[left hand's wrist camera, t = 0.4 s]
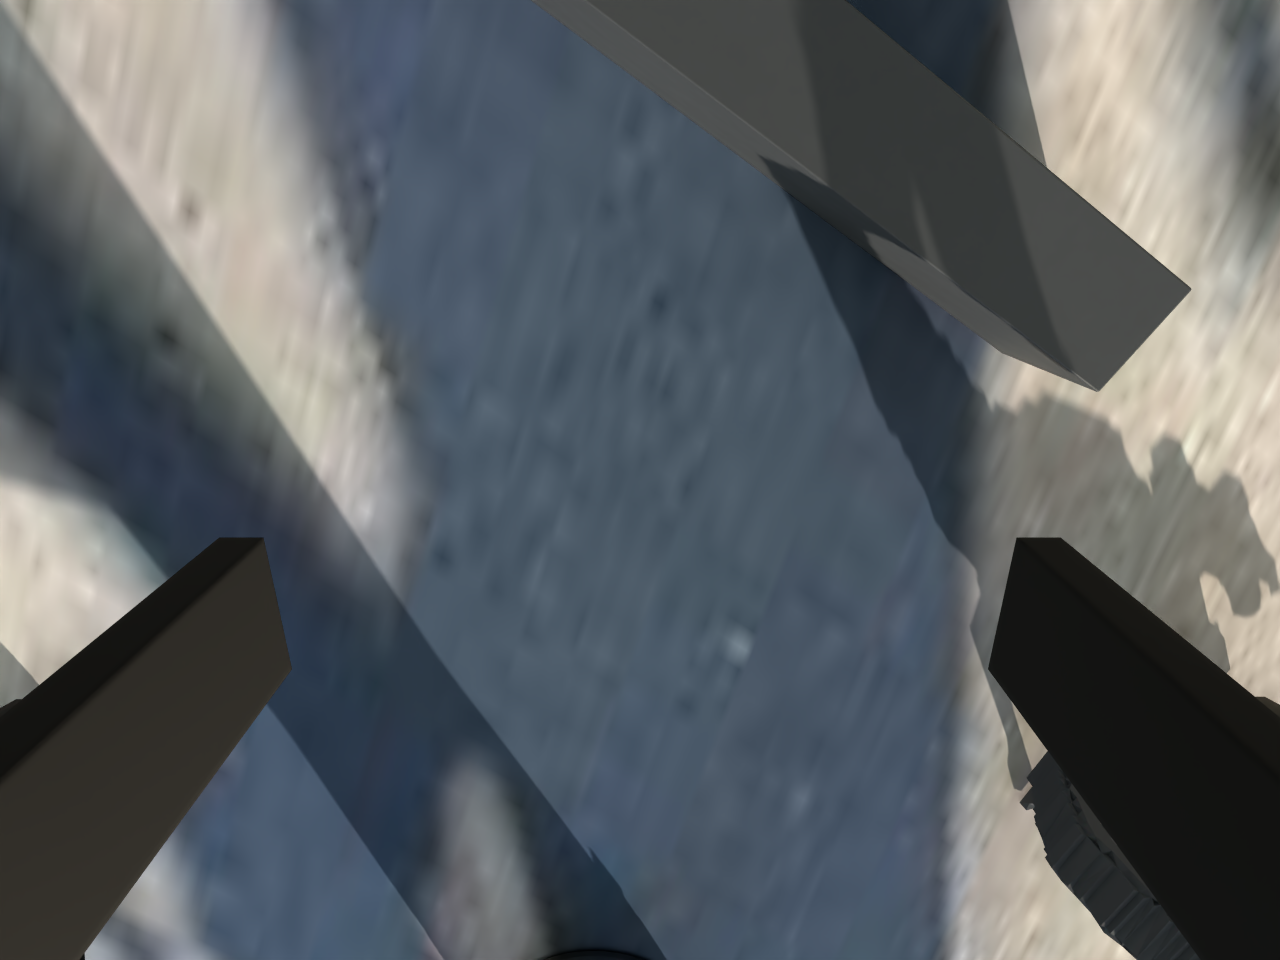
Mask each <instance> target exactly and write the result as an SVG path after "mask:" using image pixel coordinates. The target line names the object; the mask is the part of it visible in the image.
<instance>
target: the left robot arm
mask: <svg viewBox="0 0 1280 960" xmlns="http://www.w3.org/2000/svg"><path fill="white" fill-rule="evenodd" d="M291 670H292V667H291V662H290V658H289V653H288V649H287V644H286V639H285V635H284V630H283V626H282V621H281V616H280V612H279V607H278V603H277V598H276V593H275V589H274V584H273V580H272V575H271V571H270V566H269V561H268V557H267V552H266V548H265V543H264V538H218V539H217V540H216V541H215V542H213V543H212V544H211V545H210V546H209V547H207V548H206V549H205V550H204V551H202V552H201V553H200V554H199V555H198V556H196V557H195V558H194V559H193V560H191V561H190V562H189V563H188V564H187V565H185V566H184V567H183V568H182V569H180V570H179V571H178V572H177V573H176V574H174V575H173V576H172V577H171V578H170V579H168V580H167V581H166V582H165V583H163V584H162V585H161V586H160V587H159V588H157V589H156V590H155V591H154V592H152V593H151V594H150V595H149V596H148V597H146V598H145V599H144V600H143V601H141V602H140V603H139V604H138V605H137V606H135V607H134V608H133V609H132V610H130V611H129V612H128V613H127V614H126V615H124V616H123V617H122V618H121V619H119V620H118V621H117V622H116V623H115V624H113V625H112V626H111V627H110V628H108V629H107V630H106V631H105V632H104V633H102V634H101V635H100V636H99V637H98V638H96V639H95V640H94V641H93V642H91V643H90V644H89V645H88V646H87V647H85V648H84V649H83V650H82V651H80V652H79V653H78V654H77V655H76V656H74V657H73V658H72V659H71V660H69V661H68V662H67V663H66V664H65V665H63V666H62V667H61V668H60V669H58V670H57V671H56V672H55V673H54V674H52V675H51V676H50V677H49V678H47V679H46V680H45V681H44V682H43V683H41V684H40V685H39V686H38V687H37V688H35V689H34V690H33V691H32V692H30V693H29V694H28V695H27V696H26V697H24V698H23V699H16V700H14V701H12V702H10V703H9V704H7V705H5V706H3V707H1V708H0V960H80V958H81V957H82V955H83V954H84V953H85V951H86V950H87V949H88V947H89V946H90V944H91V943H92V942H93V940H94V939H95V938H96V936H97V935H98V934H99V932H100V931H101V929H102V928H103V927H104V925H105V924H106V923H107V921H108V920H109V918H110V917H111V916H112V914H113V913H114V912H115V910H116V909H117V908H118V906H119V905H120V903H121V902H122V901H123V899H124V898H125V897H126V895H127V894H128V893H129V891H130V890H131V888H132V887H133V886H134V884H135V883H136V882H137V880H138V879H139V877H140V876H141V875H142V873H143V872H144V871H145V869H146V868H147V867H148V865H149V864H150V862H151V861H152V860H153V858H154V857H155V856H156V854H157V853H158V851H159V850H160V849H161V847H162V846H163V845H164V843H165V842H166V841H167V839H168V838H169V836H170V835H171V834H172V832H173V831H174V830H175V828H176V827H177V825H178V824H179V823H180V821H181V820H182V819H183V817H184V816H185V815H186V813H187V812H188V810H189V809H190V808H191V806H192V805H193V804H194V802H195V801H196V800H197V798H198V797H199V795H200V794H201V793H202V791H203V790H204V789H205V787H206V786H207V784H208V783H209V782H210V780H211V779H212V778H213V776H214V775H215V774H216V772H217V771H218V769H219V768H220V767H221V765H222V764H223V763H224V761H225V760H226V758H227V757H228V756H229V754H230V753H231V752H232V750H233V749H234V748H235V746H236V745H237V743H238V742H239V741H240V739H241V738H242V737H243V735H244V734H245V732H246V731H247V730H248V728H249V727H250V726H251V724H252V723H253V722H254V720H255V719H256V717H257V716H258V715H259V713H260V712H261V711H262V709H263V708H264V706H265V705H266V704H267V702H268V701H269V700H270V698H271V697H272V696H273V694H274V693H275V691H276V690H277V689H278V687H279V686H280V685H281V683H282V682H283V681H284V679H285V678H286V676H287V675H288V674H289V672H290V671H291ZM988 670H989V671H990V672H991V674H992V675H993V676H994V678H995V679H996V681H997V682H998V683H999V685H1000V686H1001V687H1002V689H1003V690H1004V691H1005V693H1006V694H1007V696H1008V697H1009V698H1010V700H1011V701H1012V702H1013V704H1014V705H1015V706H1016V708H1017V709H1018V711H1019V712H1020V713H1021V715H1022V716H1023V717H1024V719H1025V720H1026V722H1027V723H1028V724H1029V726H1030V727H1031V728H1032V730H1033V731H1034V732H1035V734H1036V735H1037V737H1038V738H1039V739H1040V741H1041V742H1042V743H1043V745H1044V746H1045V748H1046V749H1047V750H1048V752H1049V753H1050V754H1051V756H1052V757H1053V758H1054V760H1055V761H1056V763H1057V764H1058V765H1059V767H1060V768H1061V769H1062V771H1063V772H1064V774H1065V775H1066V776H1067V778H1068V779H1069V780H1070V782H1071V783H1072V784H1073V786H1074V787H1075V789H1076V790H1077V791H1078V793H1079V794H1080V795H1081V797H1082V798H1083V800H1084V801H1085V802H1086V804H1087V805H1088V806H1089V808H1090V809H1091V810H1092V812H1093V813H1094V815H1095V816H1096V817H1097V819H1098V820H1099V821H1100V823H1101V824H1102V825H1103V827H1104V828H1105V830H1106V831H1107V832H1108V834H1109V835H1110V836H1111V838H1112V839H1113V841H1114V842H1115V843H1116V845H1117V846H1118V847H1119V849H1120V850H1121V851H1122V853H1123V854H1124V856H1125V857H1126V858H1127V860H1128V861H1129V862H1130V864H1131V865H1132V867H1133V868H1134V869H1135V871H1136V872H1137V873H1138V875H1139V876H1140V877H1141V879H1142V880H1143V882H1144V883H1145V884H1146V886H1147V887H1148V888H1149V890H1150V891H1151V893H1152V894H1153V895H1154V897H1155V898H1156V899H1157V901H1158V902H1159V903H1160V905H1161V906H1162V908H1163V909H1164V910H1165V912H1166V913H1167V914H1168V916H1169V917H1170V919H1171V920H1172V921H1173V923H1174V924H1175V925H1176V927H1177V928H1178V929H1179V931H1180V932H1181V934H1182V935H1183V936H1184V938H1185V939H1186V940H1187V942H1188V943H1189V944H1190V946H1191V947H1192V949H1193V950H1194V951H1195V953H1196V954H1197V955H1198V957H1199V958H1200V960H1280V705H1279V704H1277V703H1275V702H1273V701H1272V700H1270V699H1268V698H1266V697H1254V696H1253V695H1252V694H1251V693H1250V692H1248V691H1247V690H1246V689H1245V688H1243V687H1242V686H1241V685H1240V684H1239V683H1237V682H1236V681H1235V680H1234V679H1233V678H1231V677H1230V676H1229V675H1228V674H1226V673H1225V672H1224V671H1223V670H1222V669H1220V668H1219V667H1218V666H1217V665H1215V664H1214V663H1213V662H1212V661H1211V660H1209V659H1208V658H1207V657H1206V656H1204V655H1203V654H1202V653H1201V652H1200V651H1198V650H1197V649H1196V648H1195V647H1193V646H1192V645H1191V644H1190V643H1189V642H1187V641H1186V640H1185V639H1184V638H1182V637H1181V636H1180V635H1179V634H1178V633H1176V632H1175V631H1174V630H1173V629H1172V628H1170V627H1169V626H1168V625H1167V624H1165V623H1164V622H1163V621H1162V620H1161V619H1159V618H1158V617H1157V616H1156V615H1154V614H1153V613H1152V612H1151V611H1150V610H1148V609H1147V608H1146V607H1145V606H1143V605H1142V604H1141V603H1140V602H1139V601H1137V600H1136V599H1135V598H1134V597H1132V596H1131V595H1130V594H1129V593H1128V592H1126V591H1125V590H1124V589H1123V588H1121V587H1120V586H1119V585H1118V584H1117V583H1115V582H1114V581H1113V580H1112V579H1110V578H1109V577H1108V576H1107V575H1106V574H1104V573H1103V572H1102V571H1101V570H1100V569H1098V568H1097V567H1096V566H1095V565H1093V564H1092V563H1091V562H1090V561H1089V560H1087V559H1086V558H1085V557H1084V556H1082V555H1081V554H1080V553H1079V552H1078V551H1076V550H1075V549H1074V548H1073V547H1071V546H1070V545H1069V544H1068V543H1067V542H1065V541H1064V540H1063V539H1062V538H1016V543H1015V548H1014V552H1013V557H1012V561H1011V566H1010V571H1009V575H1008V580H1007V584H1006V589H1005V593H1004V598H1003V603H1002V607H1001V612H1000V616H999V621H998V626H997V630H996V635H995V639H994V644H993V649H992V653H991V658H990V662H989V667H988ZM545 960H642V959H639V958H636V957H633V956H629V955H625V954H621V953H614V952H606V951H580V952H572V953H566V954H561V955H557V956H554V957H550V958H548V959H545Z"/></svg>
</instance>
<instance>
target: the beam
mask: <svg viewBox="0 0 1280 960" xmlns="http://www.w3.org/2000/svg"><path fill="white" fill-rule="evenodd" d="M531 1H533V2H534V3H535V4H537V5H538V6H539V7H541V8H542V9H543V10H545V11H546V12H547V13H549V14H550V15H551V16H553V17H554V18H555V19H557V20H558V21H559V22H561V23H562V24H563V25H565V26H566V27H567V28H569V29H570V30H571V31H573V32H574V33H575V34H577V35H578V36H579V37H581V38H582V39H583V40H585V41H586V42H587V43H589V44H590V45H591V46H593V47H594V48H595V49H597V50H598V51H599V52H601V53H602V54H603V55H605V56H606V57H607V58H609V59H610V60H611V61H613V62H614V63H615V64H617V65H618V66H619V67H621V68H622V69H623V70H625V71H626V72H627V73H629V74H630V75H631V76H633V77H634V78H635V79H637V80H638V81H639V82H641V83H642V84H643V85H645V86H646V87H647V88H649V89H650V90H651V91H653V92H654V93H655V94H657V95H658V96H659V97H661V98H662V99H663V100H665V101H666V102H668V103H669V104H670V105H672V106H673V107H674V108H676V109H677V110H678V111H680V112H681V113H682V114H684V115H685V116H686V117H688V118H689V119H690V120H692V121H693V122H694V123H696V124H697V125H698V126H700V127H701V128H702V129H704V130H705V131H706V132H708V133H709V134H710V135H712V136H713V137H714V138H716V139H717V140H718V141H720V142H721V143H722V144H724V145H725V146H726V147H728V148H729V149H730V150H732V151H733V152H734V153H736V154H737V155H738V156H740V157H741V158H742V159H744V160H745V161H746V162H748V163H749V164H750V165H752V166H753V167H754V168H756V169H757V170H758V171H760V172H761V173H762V174H764V175H765V176H766V177H768V178H769V179H770V180H772V181H773V182H774V183H776V184H777V185H778V186H780V187H781V188H782V189H784V190H785V191H786V192H788V193H789V194H790V195H792V196H793V197H794V198H796V199H797V200H798V201H800V202H801V203H802V204H804V205H805V206H806V207H808V208H809V209H810V210H812V211H813V212H814V213H816V214H817V215H818V216H820V217H821V218H822V219H824V220H825V221H826V222H828V223H829V224H830V225H832V226H833V227H834V228H836V229H837V230H838V231H840V232H841V233H842V234H844V235H845V236H846V237H848V238H849V239H850V240H852V241H853V242H854V243H856V244H857V245H858V246H860V247H861V248H862V249H864V250H865V251H866V252H868V253H869V254H870V255H872V256H873V257H874V258H876V259H877V260H878V261H880V262H881V263H883V264H884V265H885V266H887V267H888V268H889V269H891V270H892V271H893V272H895V273H896V274H897V275H899V276H900V277H901V278H903V279H904V280H905V281H907V282H908V283H909V284H911V285H912V286H913V287H915V288H916V289H917V290H919V291H920V292H921V293H923V294H924V295H925V296H927V297H928V298H929V299H931V300H932V301H933V302H935V303H936V304H937V305H939V306H940V307H941V308H943V309H944V310H945V311H947V312H948V313H949V314H951V315H952V316H953V317H955V318H956V319H957V320H959V321H960V322H961V323H963V324H964V325H965V326H967V327H968V328H969V329H971V330H972V331H973V332H975V333H976V334H977V335H979V336H980V337H981V338H983V339H984V340H985V341H987V342H988V343H989V344H991V345H992V346H993V347H995V348H996V349H997V350H999V351H1000V352H1001V353H1003V354H1006V355H1008V356H1011V357H1013V358H1015V359H1018V360H1020V361H1023V362H1025V363H1028V364H1030V365H1033V366H1035V367H1037V368H1040V369H1042V370H1045V371H1047V372H1050V373H1052V374H1055V375H1057V376H1059V377H1062V378H1064V379H1067V380H1069V381H1072V382H1074V383H1077V384H1079V385H1081V386H1084V387H1086V388H1089V389H1091V390H1094V391H1096V392H1099V391H1100V390H1101V389H1102V388H1103V387H1104V386H1105V384H1106V383H1107V382H1108V381H1109V380H1110V379H1111V378H1112V377H1113V376H1114V375H1115V373H1116V372H1117V371H1118V370H1119V369H1120V368H1121V367H1122V366H1123V365H1124V364H1125V362H1126V361H1127V360H1128V359H1129V358H1130V357H1131V356H1132V355H1133V354H1134V353H1135V351H1136V350H1137V349H1138V348H1139V347H1140V346H1141V345H1142V344H1143V343H1144V342H1145V340H1146V339H1147V338H1148V337H1149V336H1150V335H1151V334H1152V333H1153V332H1154V331H1155V329H1156V328H1157V327H1158V326H1159V325H1160V324H1161V323H1162V322H1163V321H1164V320H1165V318H1166V317H1167V316H1168V315H1169V314H1170V313H1171V312H1172V311H1173V310H1174V309H1175V307H1176V306H1177V305H1178V304H1179V303H1180V302H1181V301H1182V300H1183V299H1184V298H1185V296H1186V295H1187V294H1188V293H1189V292H1190V291H1191V288H1190V287H1189V286H1188V285H1187V284H1185V283H1184V282H1183V281H1182V280H1181V279H1179V278H1178V277H1177V276H1176V275H1175V274H1173V273H1172V272H1171V271H1170V270H1169V269H1167V268H1166V267H1165V266H1164V265H1163V264H1161V263H1160V262H1159V261H1158V260H1157V259H1155V258H1154V257H1153V256H1152V255H1151V254H1149V253H1148V252H1147V251H1146V250H1145V249H1143V248H1142V247H1141V246H1140V245H1139V244H1137V243H1136V242H1135V241H1134V240H1133V239H1131V238H1130V237H1129V236H1128V235H1127V234H1125V233H1124V232H1123V231H1122V230H1121V229H1119V228H1118V227H1117V226H1116V225H1115V224H1113V223H1112V222H1111V221H1110V220H1109V219H1107V218H1106V217H1105V216H1104V215H1103V214H1101V213H1100V212H1099V211H1098V210H1097V209H1095V208H1094V207H1093V206H1092V205H1091V204H1090V203H1088V202H1087V201H1086V200H1085V199H1084V198H1082V197H1081V196H1080V195H1079V194H1078V193H1076V192H1075V191H1074V190H1073V189H1072V188H1070V187H1069V186H1068V185H1067V184H1066V183H1064V182H1063V181H1062V180H1061V179H1060V178H1058V177H1057V176H1056V175H1055V174H1054V173H1052V172H1051V171H1050V170H1049V169H1048V168H1046V167H1045V166H1044V165H1043V164H1042V163H1040V162H1039V161H1038V160H1037V159H1036V158H1034V157H1033V156H1032V155H1031V154H1030V153H1028V152H1027V151H1026V150H1025V149H1024V148H1022V147H1021V146H1020V145H1019V144H1018V143H1016V142H1015V141H1014V140H1013V139H1012V138H1010V137H1009V136H1008V135H1007V134H1006V133H1004V132H1003V131H1002V130H1001V129H1000V128H998V127H997V126H996V125H995V124H994V123H992V122H991V121H990V120H989V119H988V118H986V117H985V116H984V115H983V114H982V113H980V112H979V111H978V110H977V109H976V108H974V107H973V106H972V105H971V104H970V103H968V102H967V101H966V100H965V99H964V98H962V97H961V96H960V95H959V94H958V93H956V92H955V91H954V90H953V89H952V88H950V87H949V86H948V85H947V84H946V83H944V82H943V81H942V80H941V79H940V78H938V77H937V76H936V75H935V74H934V73H932V72H931V71H930V70H929V69H928V68H926V67H925V66H924V65H923V64H922V63H920V62H919V61H918V60H917V59H916V58H914V57H913V56H912V55H911V54H910V53H909V52H907V51H906V50H905V49H904V48H903V47H901V46H900V45H899V44H898V43H897V42H895V41H894V40H893V39H892V38H891V37H889V36H888V35H887V34H886V33H885V32H883V31H882V30H881V29H880V28H879V27H877V26H876V25H875V24H874V23H873V22H871V21H870V20H869V19H868V18H867V17H865V16H864V15H863V14H862V13H861V12H859V11H858V10H857V9H856V8H855V7H853V6H852V5H851V4H850V3H849V2H847V1H846V0H531Z"/></svg>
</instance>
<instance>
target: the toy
mask: <svg viewBox="0 0 1280 960" xmlns="http://www.w3.org/2000/svg"><path fill="white" fill-rule="evenodd" d="M1027 779H1028V780H1029V782H1030V783H1031V785H1032V786H1033V787H1032V788H1031V789H1030V790H1029V791H1028V793H1027V794H1026V795H1025V796H1024V798H1023V799H1022V800H1021V801H1020V804H1021V805H1022V806H1023V807H1024V808H1025V809H1026V810H1029V809H1033V810H1034V812H1035V813H1036V814H1035V816H1034V818H1035V822H1036V823H1035V824H1036V826H1037V828H1038V830H1039V832H1040V835H1041V837H1042V840H1043V843H1044V846H1045V848H1044V850H1045V852H1046V853H1047V856H1046V857H1045V858H1046V860H1047V861H1048V863H1049V865H1050V866H1051V868H1052V869H1053V870H1054V871H1055V873H1056V874H1057V876H1058V877H1059V878H1060V880H1061V881H1062V882H1063V883H1064V884H1065V885H1066V886H1067V887H1068V888H1069V889H1070V891H1071V892H1072V893H1073V894H1074V895H1075V896H1076V897H1077V898H1078V899H1079V900H1080V901H1081V902H1082V904H1083V905H1084V906H1085V907H1086V908H1087V909H1088V910H1089V911H1090V912H1091V914H1092V915H1093V917H1094V918H1095V920H1096V921H1097V923H1098V924H1099V926H1100V927H1101V929H1102V930H1103V932H1104V933H1105V934H1107V935H1108V936H1109V937H1111V938H1112V939H1113V940H1115V941H1116V942H1117V943H1119V944H1120V945H1121V946H1122V947H1124V948H1125V949H1126V950H1127V951H1128V952H1129V953H1130V954H1131V955H1132V956H1133V957H1134V958H1135V959H1136V960H1200V958H1199V957H1198V955H1197V954H1196V953H1195V951H1194V950H1193V949H1192V947H1191V946H1190V944H1189V943H1188V942H1187V940H1186V939H1185V938H1184V936H1183V935H1182V934H1181V932H1180V931H1179V929H1178V928H1177V927H1176V925H1175V924H1174V923H1173V921H1172V920H1171V919H1170V917H1169V916H1168V914H1167V913H1166V912H1165V910H1164V909H1163V908H1162V906H1161V905H1160V903H1159V902H1158V901H1157V899H1156V898H1155V897H1154V895H1153V894H1152V893H1151V891H1150V890H1149V888H1148V887H1147V886H1146V884H1145V883H1144V882H1143V880H1142V879H1141V877H1140V876H1139V875H1138V873H1137V872H1136V871H1135V869H1134V868H1133V867H1132V865H1131V864H1130V862H1129V861H1128V860H1127V858H1126V857H1125V856H1124V854H1123V853H1122V851H1121V850H1120V849H1119V847H1118V846H1117V845H1116V843H1115V842H1114V841H1113V839H1112V838H1111V836H1110V835H1109V834H1108V832H1107V831H1106V830H1105V828H1104V827H1103V825H1102V824H1101V823H1100V821H1099V820H1098V819H1097V817H1096V816H1095V815H1094V813H1093V812H1092V810H1091V809H1090V808H1089V806H1088V805H1087V804H1086V802H1085V801H1084V800H1083V798H1082V797H1081V795H1080V794H1079V793H1078V791H1077V790H1076V789H1075V787H1074V786H1073V784H1072V783H1071V782H1070V780H1069V779H1068V778H1067V776H1066V775H1065V774H1064V772H1063V771H1062V769H1061V768H1060V767H1059V765H1058V764H1057V763H1056V761H1055V760H1054V758H1053V757H1052V756H1051V754H1050V753H1049V752H1047V753H1046V754H1045V755H1044V757H1043V758H1042V759H1041V760H1040V762H1039V763H1038V764H1037V765H1036V767H1035V768H1034V769H1033V770H1032V772H1031V773H1030V774H1029V775H1028V777H1027Z"/></svg>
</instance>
